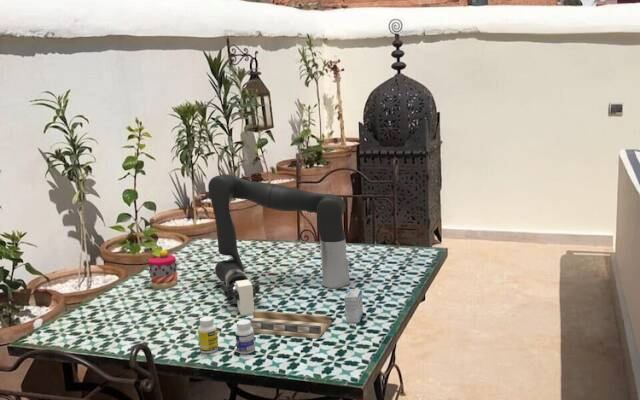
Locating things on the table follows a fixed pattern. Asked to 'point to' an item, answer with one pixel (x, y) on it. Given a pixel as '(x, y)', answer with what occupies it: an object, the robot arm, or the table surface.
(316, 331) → the shelf ledge
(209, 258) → the table surface
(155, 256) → the cake
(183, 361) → the table surface
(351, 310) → the medicine box
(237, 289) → the carton
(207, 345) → the supplement bottle
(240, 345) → the pill bottle
